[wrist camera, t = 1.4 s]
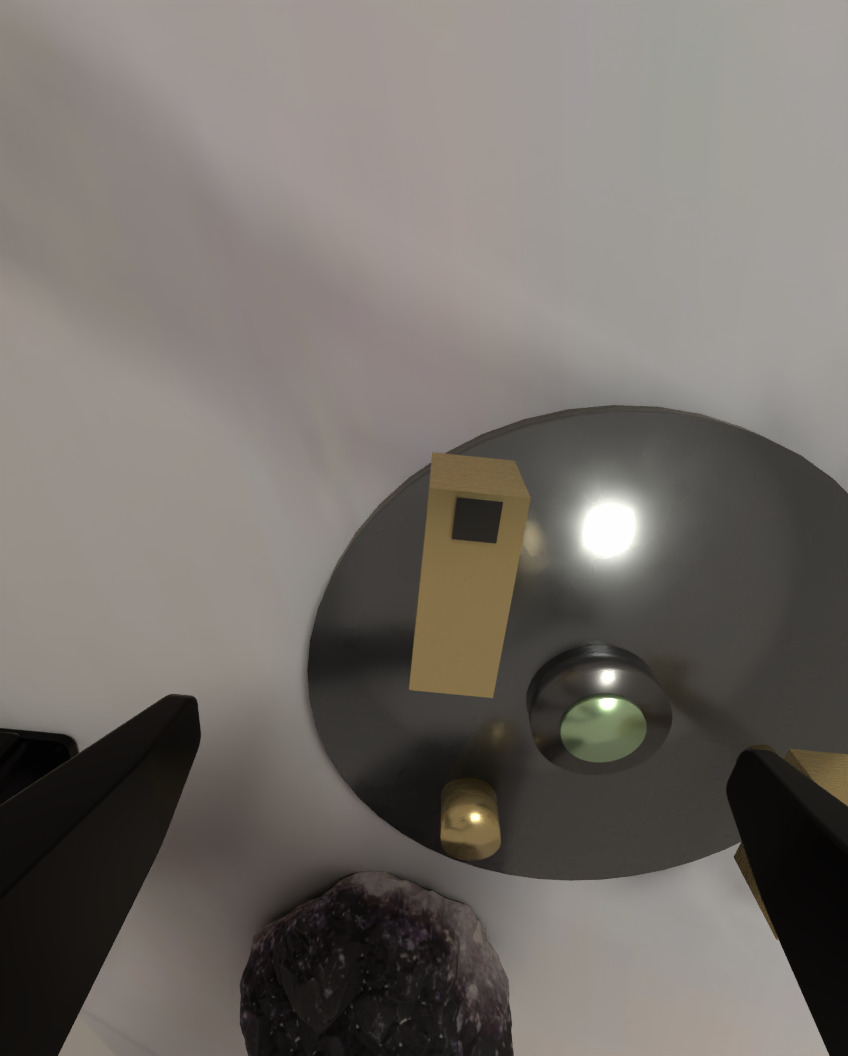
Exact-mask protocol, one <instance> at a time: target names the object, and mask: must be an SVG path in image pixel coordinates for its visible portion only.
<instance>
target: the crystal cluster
mask: <svg viewBox="0 0 848 1056" xmlns="http://www.w3.org/2000/svg"><path fill="white" fill-rule="evenodd" d="M240 992H241V1002H240V1026H241V1029H242V1033H243V1036H244V1038H245V1045H246V1049H247V1052H248V1056H513V1044H512V1034H511V1027H512V1020H511V1011H510V1006H509V980H508V978H507V976H506V973H505V971H504V969H503V967H502V964H501V962H500V959H499V956H498V954H497V952H496V951H495V950H494V948H493V947H492V945H491V944H490V942H489V940H488V937H487V935H486V928H485V926H484V925H483V923H482V922H481V920H479V919H478V918H477V917H476V916H475V913H474V912H473V911H472V910H471V909H470V908H469V906H468V905H465V904H462V903H459V902H456V901H452V900H449V899H446V898H444V897H442V896H440V895H438V894H437V893H436V892H434V891H428V890H426V889H424V888H422V887H420V886H418V885H416V884H414V883H412V882H410V881H408V880H402V879H400V878H398V877H396V876H394V875H391V874H389V873H387V872H382V871H377V872H359V873H356V874H354V875H351V876H349V877H346V878H344V879H342V880H340V881H339V882H338V883H337V884H336V885H335V886H334V887H333V888H331V889H330V890H328V891H326V892H324V893H323V894H322V896H321V897H319V898H315V899H311V900H309V901H306V902H304V903H301V904H300V905H299V906H297V907H296V908H295V909H294V910H293V911H292V912H291V913H290V914H288V915H286V916H284V917H282V918H280V919H278V920H276V921H273V922H270V923H269V924H267V925H266V926H265V927H264V928H262V929H261V930H260V931H259V932H258V933H257V934H256V935H255V936H254V937H253V942H252V947H251V953H250V957H249V960H248V963H247V965H246V968H245V970H244V972H243V976H242V979H241V982H240Z"/></svg>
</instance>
